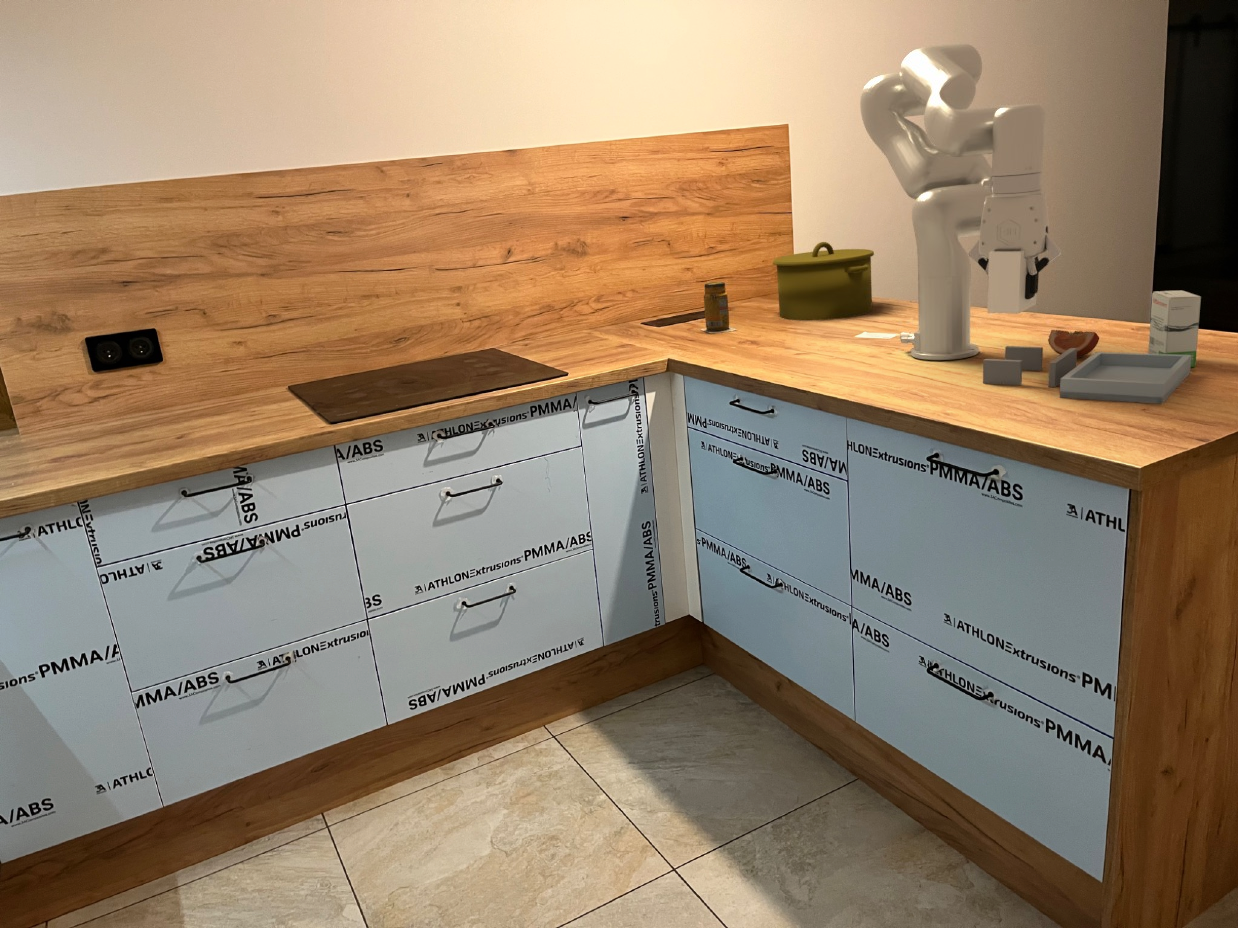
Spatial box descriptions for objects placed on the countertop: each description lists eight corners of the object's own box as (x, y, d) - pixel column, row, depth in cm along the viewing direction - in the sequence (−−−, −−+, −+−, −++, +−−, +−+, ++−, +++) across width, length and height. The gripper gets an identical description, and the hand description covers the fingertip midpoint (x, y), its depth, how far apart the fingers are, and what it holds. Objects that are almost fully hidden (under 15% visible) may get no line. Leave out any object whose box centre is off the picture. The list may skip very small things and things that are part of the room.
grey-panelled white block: (987, 312, 154) (989, 250, 151) (1005, 303, 161) (1007, 243, 157) (1018, 313, 151) (1020, 250, 148) (1035, 304, 158) (1038, 242, 154)
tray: (1059, 397, 143) (1060, 378, 142) (1095, 369, 157) (1096, 352, 156) (1162, 404, 134) (1163, 384, 133) (1189, 373, 148) (1191, 355, 147)
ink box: (1197, 367, 151) (1203, 295, 148) (1164, 369, 152) (1169, 298, 149) (1177, 357, 159) (1182, 288, 156) (1146, 359, 160) (1150, 290, 157)
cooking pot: (751, 316, 252) (747, 248, 246) (824, 301, 263) (821, 236, 258) (826, 325, 226) (823, 249, 221) (902, 308, 238) (901, 235, 232)
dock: (983, 383, 156) (983, 360, 155) (1006, 368, 165) (1007, 346, 164) (1054, 387, 149) (1055, 363, 148) (1075, 371, 157) (1076, 348, 156)
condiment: (726, 326, 241) (723, 280, 237) (737, 330, 233) (734, 282, 229) (699, 330, 239) (696, 283, 236) (710, 334, 231) (706, 286, 228)
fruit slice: (1040, 358, 169) (1041, 331, 168) (1062, 351, 173) (1063, 325, 171) (1084, 363, 162) (1085, 335, 161) (1105, 356, 166) (1107, 328, 164)
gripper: (955, 191, 152) (953, 300, 158) (1065, 185, 141) (1059, 303, 147) (972, 186, 158) (970, 292, 163) (1079, 180, 147) (1072, 294, 153)
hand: (1012, 296), depth 155 cm, fingers closed on grey-panelled white block, 5 cm apart
